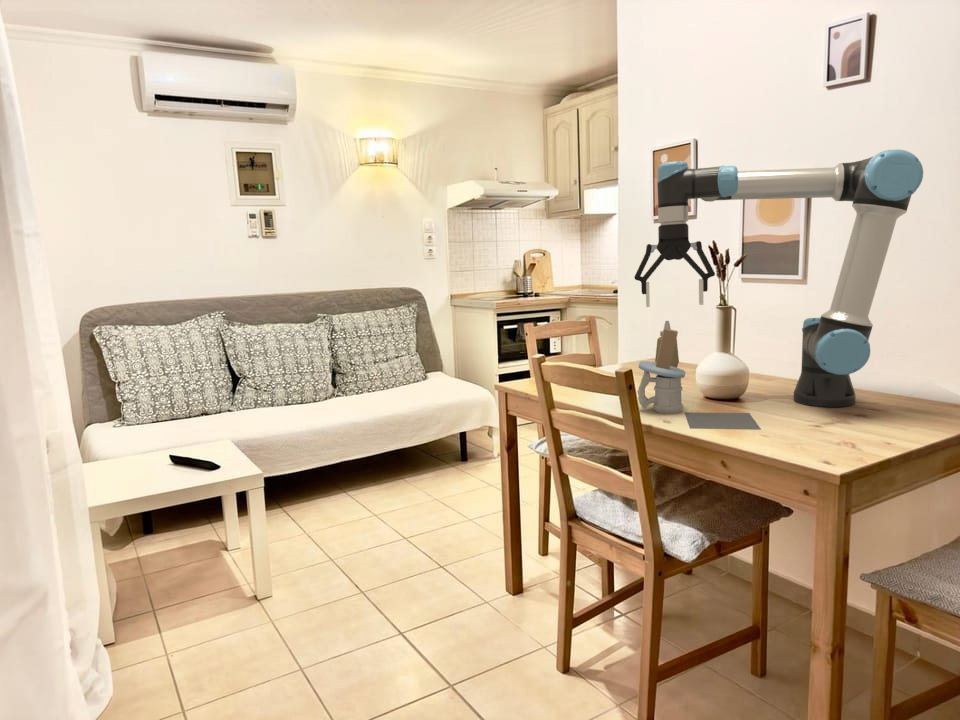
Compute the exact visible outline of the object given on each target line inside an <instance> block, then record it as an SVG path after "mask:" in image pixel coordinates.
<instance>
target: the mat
mask: <svg viewBox="0 0 960 720" xmlns="http://www.w3.org/2000/svg"><path fill="white" fill-rule="evenodd" d="M684 415H685V418H686V419H685V420H686V421H687V425H688V427H689V429H692V430H693V429H698V430H700V429H701V430H705V429H706V430H755V431H756V430H758V431H759V430H762V429H761V427H760V425H759V423H757V422H756V420H755V419H754V417H753V416H752V415H751V413H750V412H694V411H693V412H691V411H689V412H688V411H687V412H685V411H684Z"/></svg>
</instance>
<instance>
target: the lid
mask: <svg viewBox="0 0 960 720" xmlns="http://www.w3.org/2000/svg"><path fill="white" fill-rule="evenodd" d="M662 331H663V335H662V336H661V337H662V339H661V344H660V348H659V352H658V357H657V361H656V363H655V361H644V360H643V361H639V363H638V369H640V370H642V371H643V372H644V371H647V372H649V373H650V374H654V375H656V376H657V375H662V376H667V377H673V378H681V379H684V378H685V376H686V371H685V370H683V369H682V368H678V367H677V368H676V367H673V366H670V364H671V360H672V356H673V351H674V347H675V343H676V339H677V338H678V334H679V332H678V330H674V329H671V330H670V329H665V328H664V327H663V330H662Z"/></svg>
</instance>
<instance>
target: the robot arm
mask: <svg viewBox="0 0 960 720" xmlns="http://www.w3.org/2000/svg"><path fill="white" fill-rule="evenodd" d="M923 178H924V168H923V165H922V163H921V160H919V158H918V157H917V156H916V155H915V154H913V153H912V152H910V151H907V150H905V149H895V148H894V149H887V150H882V151H880V152H878V153H876V154H874V155H873V156H870V157H868V158H865V159H862V160H857V161H851V162H840V163H838V164H836V166H834V167H811V168H788V169H787V168H786V169H785V168H783V169H781V168H780V169H763V170H761V169H759V170H758V169H757V170H738V168H737V166H736V165H721V166H720V165H719V166H711V167H700V168H689V165H688V162H687V161H683V160H679V161H675V160H674V161H667V162H663V163H660V164H659V166H658V167H657V180H656V181H657V182H656V184H657V185H656V186H657V207H658V208H657V218H658V219H657V220H658V224H660V225H659V226H658V242H657V244H651V243H648V244H647V245H646V247H645V249H646V250H645V253H644V255H643V258H642V260H641V262H640V264H639V267H638V268H637V270H636V272H635V275H634V280H635V281H638V282H640V283H641V285H640V286H641V294H642V295H645V307H646V308H650V306H651V303H650V301H651V300H650V282H649V281H648V279H649V278H650V277H651V276H652V275H653V273H654V272H655V271H656V269H657V268H658V267H659V266H660V265H661V263H662V262H663V261H664V260H666V261H672V260H676V261H677V260H678V261H680V260H682V259H684V261H686V262H687V263H688V264H689V265H690V267H691V268H692V269H693V270H694V271H695V272H696V273H697V274H698V275H699V276H700V277H701V278H700V279H698V305H699V306H700V305H701V306H703V305H704V292H705V293H706V292H708V290H709V289H708V287H709V286H708V284H709V283H708V281H709V278H712V277H714V276H715V275H716V273H715V271H714V268H713V267H712V265H711V263H710V261H709V260H708V258H707V256H706V254H705V252H704V250H703V246H702V245H703V244H702V241H700V240H696V241H695V242H690V240H689V239H690V238H689V237H690V236H689V225H688V223H687V222H689V203H688V202H689V200H694V199H697V200H698V199H701V200H702V201H704V202H711V203H712V202H715V201H733V200H735V201H736V200H771V199H773V200H774V199H775V200H778V199H783V200H784V199H812V198H814V199H815V198H816V199H817V198H821V199H822V198H832V199H833V200H834V202H852V204H851V206H852V208H853V210H854V211H855V212H856V213H855V214H856V215H855V220H854V223H853V226H852V230H851V234H850V237H849V239H848V244H847V247H846V251H845V254H844V259H843V262H842V265H841V267H840V268H841V269H840V271H839V272H840V273H839V275H838V279H837V283H836V286H835V290H834V294H833V297H832V301H831V304H830V308H829V310H828V311H825V312H824V313H822V314H821V315H820V317H808V318H806V319H804V321H803V324H802V328H801V331H802V340H801V341H802V343H801V344H802V345H801V346H802V347H801V348H802V349H801V370H800V371H801V372H800V376H799V377H798V380H797V383H796V385H795V387H794V389H793V401H794V402H796V403H798V404H802V405H806V406H811V407H822V408H823V407H825V408H832V407H833V408H841V407H842V408H843V407H850V406H853V405H855V404H856V397H857V396H856V392H855V389H854V386H853V382H852V378H851V376H850V374H855V373H856V372H857V371H860V370H861V369H863V367H865V366H866V364H867V363H868V362H869V359H870V356H871V345H870V342H869V340H870V336H871V334H872V333H871V332H872V331H873V330H872V329H873V326H874V325H873V323H872V321H871V320H870V318H869V315H870V310H871V308H872V305H873V301H874V298H875V295H876V290H877V287H878V285H879V282H880V277H881V274H882V271H883V267H884V264H885V261H886V257H887V254H888V249H889V247H890V243H891V240H892V236H893V233H894V231H895V226H896V223H897V220H898V218H900V217H901V216H903V215H905V214H906V213H907V210H908V207H909V205H910V202H911V198H912V195H914V194H915V193H916V192H917V190H918V189H919V188H920V186H921V183H922V181H923ZM691 248H692V250H694V251H696V253H697V255H698V257H699V259H700V261H701V262H702V264H703V266H704V268H705V270H706V272H707V273H706V272H705V271H704V270H703V269H702V268H701V267H700V266H699V265H698V263H696V261H695V260H694V259H693V258H692V257H691V255H689V253H688V252H689V250H690V249H691ZM655 250H657V251H658V253H659V255H658V257H657V259H656V260H655V261H654V262H653V263H652V265H651V266H650V267H649V269H648V270H647V271H646V272H645V274H643V276H641V275H642V273H643V272H644V269H645V267H646V265H647V263H648V262H649V259H650V257H651V254H652V253H654V252H655Z"/></svg>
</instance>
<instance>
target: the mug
mask: <svg viewBox="0 0 960 720" xmlns="http://www.w3.org/2000/svg"><path fill="white" fill-rule="evenodd" d="M650 383H655V385H654V387H653V390H654V396H651V397H647V395H646V387H647V386H648V385H649V384H650ZM682 391H683V386H682V378H673V377H667V376H662V375H657V374H656V376H655V377H653V376H652V377H651V373H650V372H647V371H644V370H643V375H642V378H641V381H640V383H639V386H638V389H637V395H638V397H637V398H638V402H639V403H638V404H639V405H640V406H641V408H642V409H643V410H645V409H646V408H647V407H648V406H650V405H652V406H653V409H654V411H655V412H656V413H660V414H668V415H669V414H679V413H682V410H683V409H684V404H683V402H682Z"/></svg>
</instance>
